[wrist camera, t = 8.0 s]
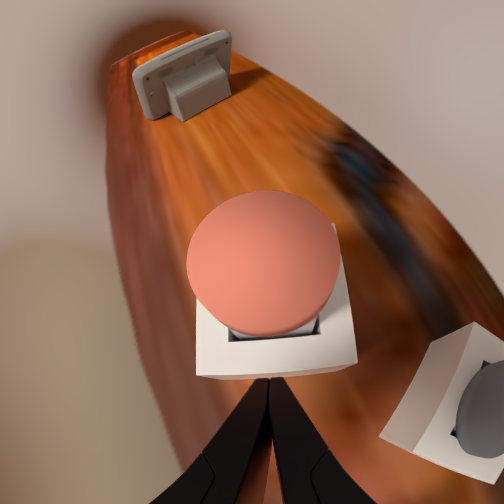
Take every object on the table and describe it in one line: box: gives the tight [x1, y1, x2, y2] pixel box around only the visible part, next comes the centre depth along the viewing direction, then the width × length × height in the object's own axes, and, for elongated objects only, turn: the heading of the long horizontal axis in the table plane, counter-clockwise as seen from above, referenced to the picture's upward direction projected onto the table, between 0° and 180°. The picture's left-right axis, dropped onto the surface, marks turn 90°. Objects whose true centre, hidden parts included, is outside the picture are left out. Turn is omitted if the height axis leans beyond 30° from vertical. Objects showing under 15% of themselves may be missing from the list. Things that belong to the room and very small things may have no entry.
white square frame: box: [196, 223, 358, 380], centre depth 20 cm, size 9×9×7 cm
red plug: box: [187, 190, 341, 341], centre depth 15 cm, size 6×6×8 cm
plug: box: [450, 360, 504, 459], centre depth 13 cm, size 6×6×8 cm
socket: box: [378, 322, 504, 485], centre depth 14 cm, size 9×9×7 cm
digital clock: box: [132, 30, 232, 122], centre depth 35 cm, size 16×9×11 cm, turn 118°
